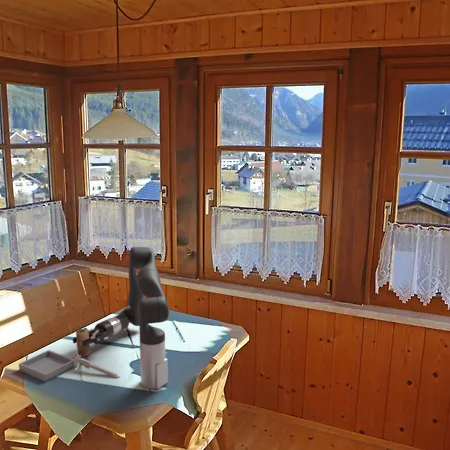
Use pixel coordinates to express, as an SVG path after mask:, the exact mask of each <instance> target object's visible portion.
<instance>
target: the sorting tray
mask: <svg viewBox="0 0 450 450" xmlns="http://www.w3.org/2000/svg"><path fill="white" fill-rule="evenodd" d="M74 359H75V358H73V357H72V358H71V357H70V356H66V355H64V354H61V353H58V352H55V351H52V350H50V349H47V350H46V351H44V352H43V351H42V352H41V353H39V354H37V355H35V356H33V357H30V358H28V359H26V360H24V361H22V362H20V363H18V371H19V372H21V373H24V374H25V373H26V375H28V376H30V375H31V376H30V377H33V378H35V379H37V378H38V379H37V380H41V381H43V382H45V383H49V382H50V381H51V380H53V379H55V378H57V377H60V376H61V375H63V374H65V373H66V372H69V371H70V370H72V369H75V368H74Z"/></svg>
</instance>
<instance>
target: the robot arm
mask: <svg viewBox="0 0 450 450" xmlns="http://www.w3.org/2000/svg"><path fill="white" fill-rule="evenodd" d="M156 263H157V262H156V255H155V251H154V249H153V248H152V247H144V246H138V247H137V246H133V247H131V248H130V249H129V253H128V296H127V304H128V306H127V307H125V308H124V309H123V310H122V311H120V313H118V314H117V315H115V316H113V317H110V318H107V319H105V320H102V321H100V322H97V324H96V325H95V326H94V328H91V329H88V328H87V327H84V328H83V329H88V330H89V338H88V339H86V340H84V341H83V342H82V346H86V345H89V344H91V345H93V344H94V345H98V344H101V343H104V342H107V341H108V340H109V338H112V337H113V336H115V335H117V334H118V333H119V332H121V331H123V330H125V329H127V328H128V327H129V326H130V324H131V325H133V326H135V327H139V360H140V361H139V362H140V364H139V365H140V367H139V368H140V384H141V386H142V387H143V388H144V389H145V388H146V389H150V390H151V389H153V390H154V389H155V390H160V389H161V388H162V387H164V386H165V385H167V383H168V382H169V371H168V370H169V367H168V365H169V363H168V362H169V360H168V358H166V333H165V331H164V330H163V329H162V328H159V327H155V326H153V325H150V324H157V323H159V324H160V323H164V322H166V321H168V319H169V316H170V307H169V303H168V301H167V297H166V296H165V293H164V291H163V286H162V282H161V281H162V280H161V277H160V274H159V271H158V269H157V264H156ZM136 269H139V271H138V273H137V271H136ZM72 343H73V344H77V338H76V336H74V337H73V338H72Z"/></svg>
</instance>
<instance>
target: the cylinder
mask: <svg viewBox="0 0 450 450" xmlns="http://www.w3.org/2000/svg"><path fill="white" fill-rule="evenodd" d="M89 330H90V329H88V328H87V329H84V328H80V329H77V330H76V331H75V334H76V335H75V337H76V338H77V343H76V347H77V348H76V350H77V354H79V356H80V355H81V357H80V358H84V357H87V356H89V355H90V354H91V346H90V344H89V345H86V346H82V342H83V341H84V340H86V339H88V338H89Z"/></svg>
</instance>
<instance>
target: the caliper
mask: <svg viewBox="0 0 450 450" xmlns="http://www.w3.org/2000/svg"><path fill="white" fill-rule="evenodd" d="M73 359H74V368H73V369H77V368H78V369H77V370H81V369H82V368H83V367H84V368H86V369H93V370H94V371H97V372H100V373H103V374H104V375H107V376H109V377H111V378H117V379H119V378H120V377H121V376H120V375H119V374H118V373H116V372H114V371H111V370H109V369H107V368H104V367H102V366H100V365H97V364H95V363H93V362H91V361H90V360H88V359H85V358H84V357H81V355H80V356H79V354H78V353H77V354H76V356H75V357H74V358H73Z"/></svg>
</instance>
